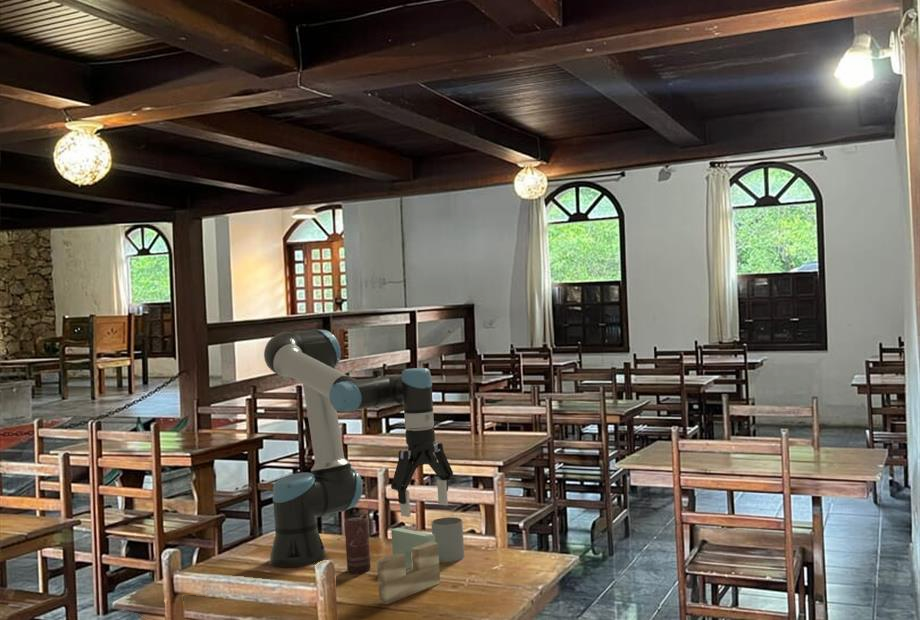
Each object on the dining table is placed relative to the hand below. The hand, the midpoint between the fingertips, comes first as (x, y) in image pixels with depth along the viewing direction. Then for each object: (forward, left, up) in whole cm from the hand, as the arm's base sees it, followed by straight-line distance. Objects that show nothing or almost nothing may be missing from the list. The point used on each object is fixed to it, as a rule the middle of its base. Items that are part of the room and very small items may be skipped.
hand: (424, 510), depth 219 cm
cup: (-5, +13, -16) cm, 22 cm away
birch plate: (+7, -13, -16) cm, 22 cm away
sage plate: (-5, 0, -16) cm, 17 cm away
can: (-18, -8, -16) cm, 26 cm away
